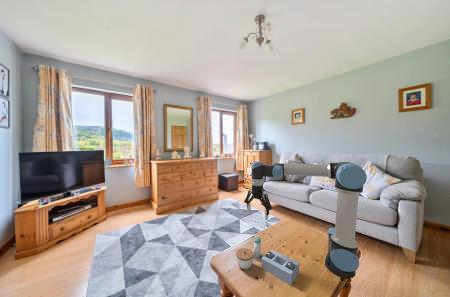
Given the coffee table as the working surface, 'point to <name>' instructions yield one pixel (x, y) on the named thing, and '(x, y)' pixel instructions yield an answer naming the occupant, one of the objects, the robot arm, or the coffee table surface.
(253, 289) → the coffee table surface
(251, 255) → the lidded jar
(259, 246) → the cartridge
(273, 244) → the coffee table surface
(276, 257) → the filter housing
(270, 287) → the coffee table surface
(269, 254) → the plunger far
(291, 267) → the plunger near
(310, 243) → the coffee table surface
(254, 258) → the mat
